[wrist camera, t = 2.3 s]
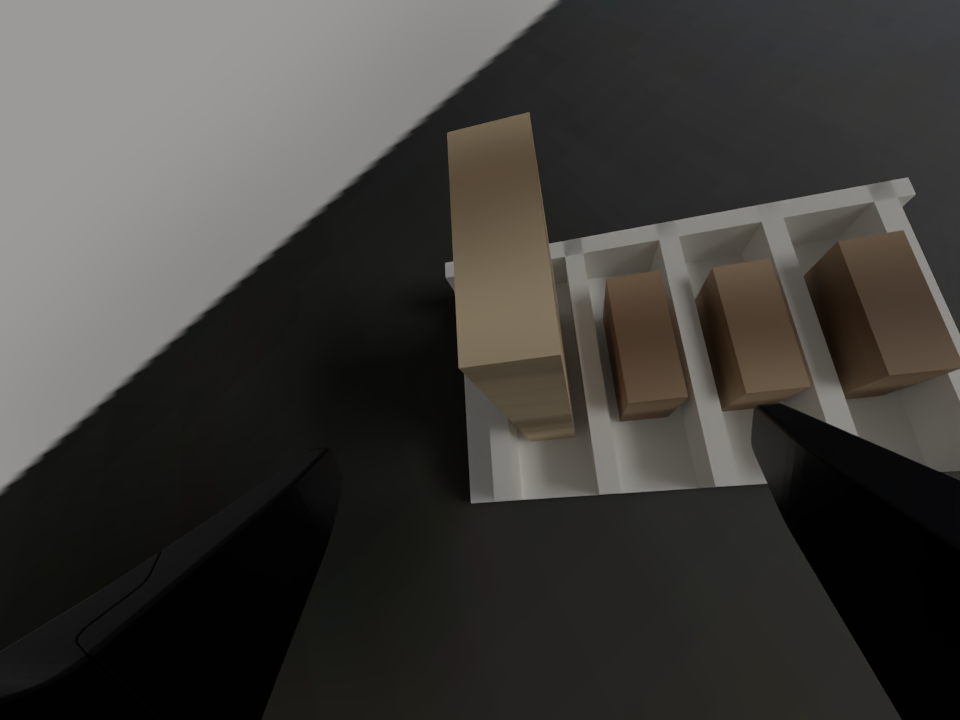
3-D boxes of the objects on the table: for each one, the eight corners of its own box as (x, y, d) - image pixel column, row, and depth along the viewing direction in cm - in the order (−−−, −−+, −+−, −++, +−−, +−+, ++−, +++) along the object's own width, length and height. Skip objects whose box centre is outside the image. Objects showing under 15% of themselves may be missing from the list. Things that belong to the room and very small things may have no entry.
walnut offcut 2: (770, 406, 18) (810, 386, 15) (717, 411, 18) (746, 393, 15) (739, 298, 19) (769, 258, 16) (691, 305, 20) (712, 267, 16)
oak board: (575, 437, 19) (560, 354, 8) (531, 441, 20) (458, 368, 8) (559, 315, 21) (529, 111, 10) (519, 321, 22) (446, 132, 10)
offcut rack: (957, 470, 16) (1043, 464, 13) (475, 502, 20) (455, 504, 17) (858, 226, 20) (908, 177, 17) (463, 293, 24) (445, 263, 21)
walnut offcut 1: (667, 416, 19) (688, 396, 15) (620, 421, 19) (628, 403, 15) (646, 311, 20) (660, 270, 16) (602, 318, 21) (606, 279, 17)
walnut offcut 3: (881, 395, 17) (964, 367, 13) (824, 401, 17) (889, 375, 14) (840, 283, 19) (903, 230, 15) (788, 291, 19) (837, 240, 15)
